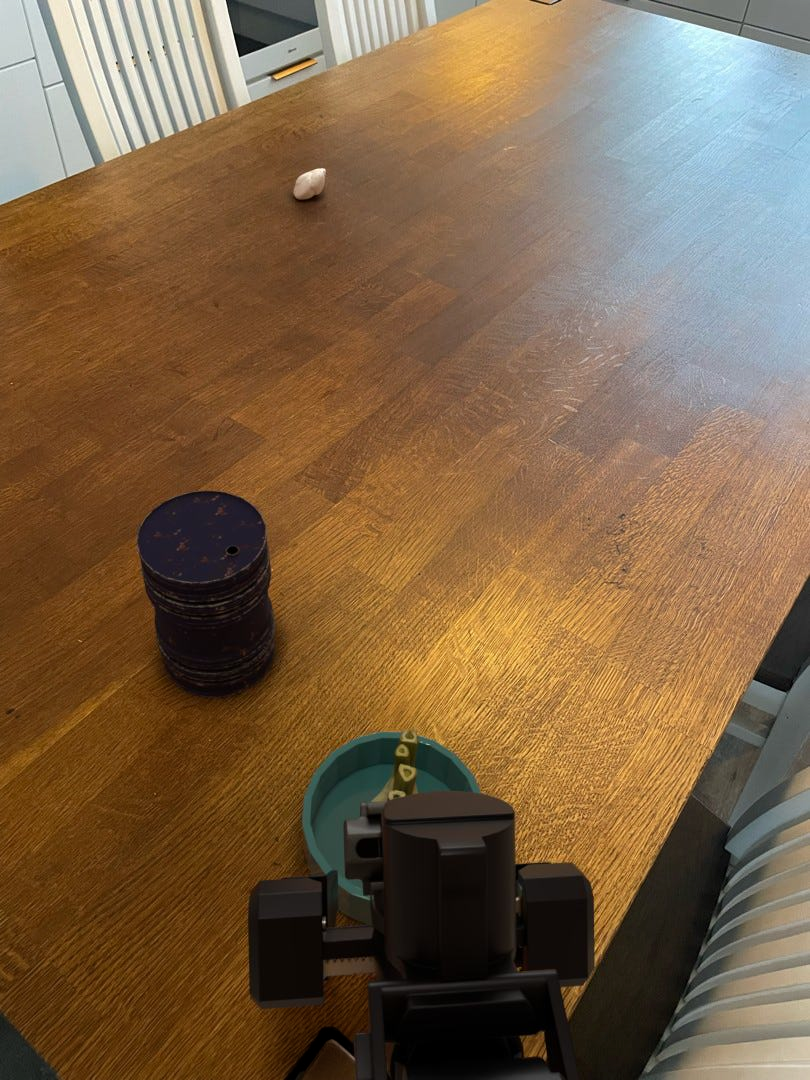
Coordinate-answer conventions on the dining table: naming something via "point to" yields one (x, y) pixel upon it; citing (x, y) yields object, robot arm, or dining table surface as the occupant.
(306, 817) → the pan
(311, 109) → the dining table surface
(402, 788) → the fennel bulb
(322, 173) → the dumpling
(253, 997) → the robot arm
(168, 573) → the dark blue cylinder
